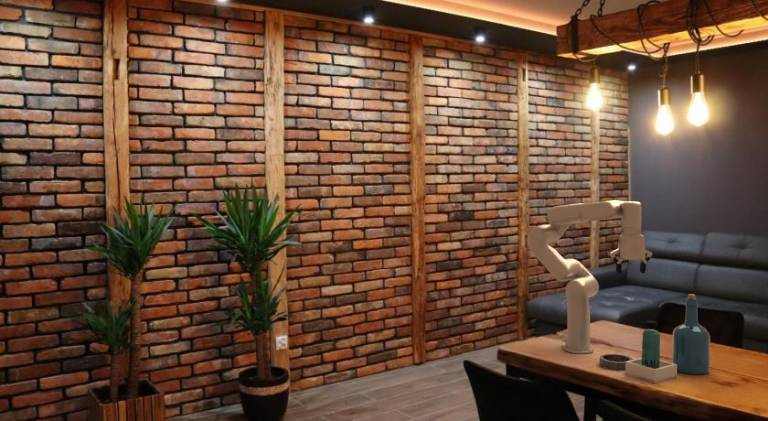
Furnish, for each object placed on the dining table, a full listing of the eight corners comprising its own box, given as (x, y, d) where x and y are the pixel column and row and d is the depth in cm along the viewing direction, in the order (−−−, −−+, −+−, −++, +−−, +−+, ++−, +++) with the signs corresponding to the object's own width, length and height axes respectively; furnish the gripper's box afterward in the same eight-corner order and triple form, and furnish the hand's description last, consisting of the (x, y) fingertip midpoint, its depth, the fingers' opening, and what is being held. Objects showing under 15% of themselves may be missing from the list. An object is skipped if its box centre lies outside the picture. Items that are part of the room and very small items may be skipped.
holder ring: (593, 364, 262) (593, 356, 262) (613, 359, 269) (613, 352, 268) (618, 372, 252) (618, 364, 251) (639, 366, 258) (639, 359, 258)
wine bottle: (707, 377, 244) (709, 298, 242) (669, 372, 251) (670, 295, 249) (711, 368, 255) (712, 293, 254) (674, 363, 262) (676, 290, 261)
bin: (625, 374, 249) (625, 361, 248) (647, 368, 255) (647, 356, 255) (655, 383, 238) (655, 370, 237) (676, 377, 244) (677, 364, 244)
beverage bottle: (647, 369, 251) (648, 318, 250) (663, 373, 246) (664, 321, 245) (637, 372, 248) (638, 321, 246) (653, 376, 242) (654, 324, 241)
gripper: (613, 232, 261) (613, 274, 262) (656, 232, 261) (655, 274, 262) (607, 231, 268) (606, 271, 269) (648, 230, 268) (647, 271, 269)
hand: (630, 273), depth 265 cm, fingers open, 9 cm apart
